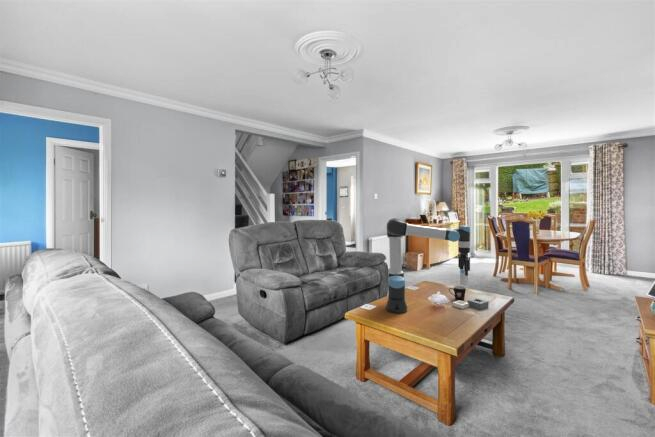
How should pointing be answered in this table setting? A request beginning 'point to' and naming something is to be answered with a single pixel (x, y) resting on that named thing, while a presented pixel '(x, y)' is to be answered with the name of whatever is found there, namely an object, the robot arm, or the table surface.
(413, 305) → the table surface
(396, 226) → the robot arm
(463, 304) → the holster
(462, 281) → the plug
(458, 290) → the coffee mug
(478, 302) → the port block
